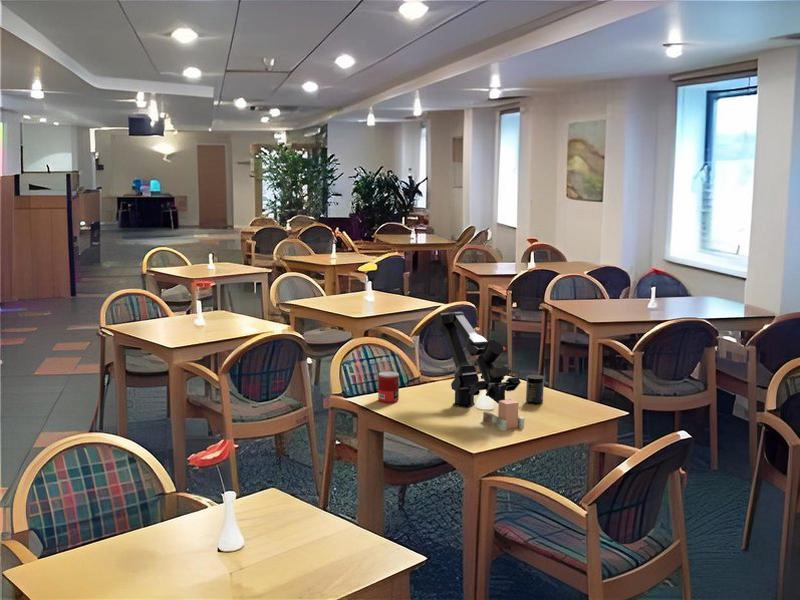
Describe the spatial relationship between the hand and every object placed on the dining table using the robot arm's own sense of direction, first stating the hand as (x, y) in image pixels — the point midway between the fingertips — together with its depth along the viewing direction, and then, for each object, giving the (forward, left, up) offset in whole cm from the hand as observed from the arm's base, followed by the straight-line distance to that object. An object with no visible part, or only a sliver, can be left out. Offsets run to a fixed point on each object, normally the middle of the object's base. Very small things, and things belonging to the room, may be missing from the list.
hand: (503, 406), depth 300 cm
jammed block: (+2, -1, -7) cm, 7 cm away
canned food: (-51, +2, -7) cm, 51 cm away
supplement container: (-3, +33, -7) cm, 34 cm away
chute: (0, 0, -7) cm, 7 cm away
